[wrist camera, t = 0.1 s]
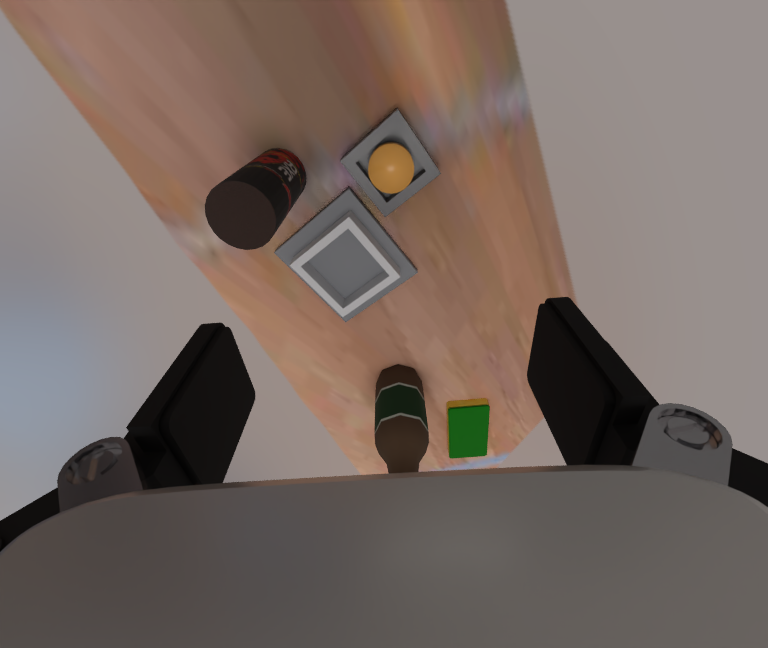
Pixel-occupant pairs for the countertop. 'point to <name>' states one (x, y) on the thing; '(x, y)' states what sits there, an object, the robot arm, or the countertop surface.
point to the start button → (391, 167)
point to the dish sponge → (467, 427)
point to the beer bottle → (400, 419)
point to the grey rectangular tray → (346, 256)
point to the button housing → (386, 131)
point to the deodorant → (255, 199)
